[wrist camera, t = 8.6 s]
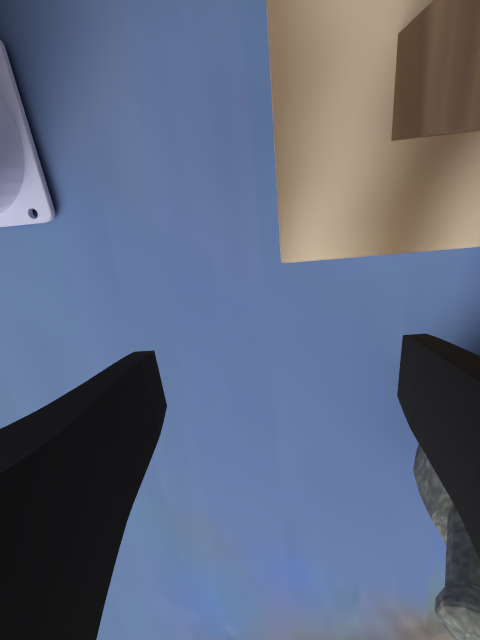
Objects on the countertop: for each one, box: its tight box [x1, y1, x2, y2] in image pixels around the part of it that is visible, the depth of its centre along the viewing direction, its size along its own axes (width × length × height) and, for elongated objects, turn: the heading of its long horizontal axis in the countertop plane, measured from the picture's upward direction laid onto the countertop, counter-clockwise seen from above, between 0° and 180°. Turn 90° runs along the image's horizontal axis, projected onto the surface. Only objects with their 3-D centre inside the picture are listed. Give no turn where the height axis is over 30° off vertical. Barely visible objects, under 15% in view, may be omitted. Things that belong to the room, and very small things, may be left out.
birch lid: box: [266, 0, 480, 263], centre depth 9 cm, size 11×11×6 cm
